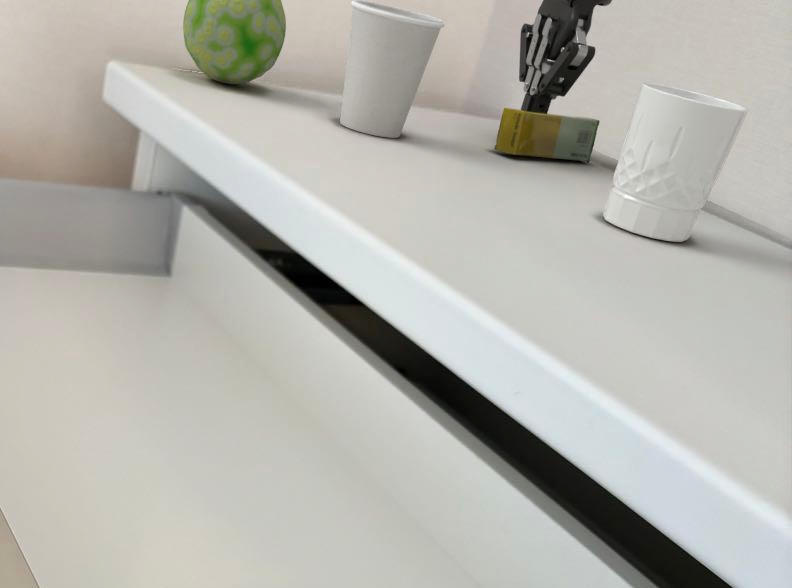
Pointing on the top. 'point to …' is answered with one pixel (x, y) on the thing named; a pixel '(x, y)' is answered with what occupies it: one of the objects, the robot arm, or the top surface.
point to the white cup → (670, 160)
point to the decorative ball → (234, 37)
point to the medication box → (546, 135)
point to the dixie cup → (385, 66)
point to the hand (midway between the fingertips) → (526, 135)
